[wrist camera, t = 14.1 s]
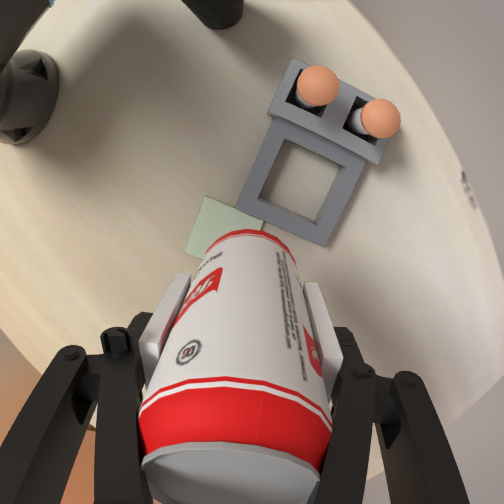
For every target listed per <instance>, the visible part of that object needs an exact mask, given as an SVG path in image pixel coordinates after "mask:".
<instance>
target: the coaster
mask: <svg viewBox="0 0 504 504" xmlns="http://www.w3.org/2000/svg"><path fill="white" fill-rule="evenodd" d="M263 222H264V220H261V219H259V218H257V217H254V216H252V215H249V214H247V213H245V212H242V211H240V210H238V209H235V208H234V207H232V206H229V205H227V204H225V203H222V202H220V201H217V200H215V199H213V198H210V197H208V196H205V198H204V201H203V203H202V206H201V208H200V211H199V214H198V216H197V219H196V221H195V224H194V227H193V229H192V232H191V235H190V237H189V240H188V243H187V245H186V248H185V251H184V252H186V253H188V254H190V255H193V256H195V257H198V258H200V259H202V260H203V258H204V255H205V253H206V251H207V249H208V248H209V247H210V246H211V245H212V244H213V243H214V242H215V241H216V240H217V239H218V238H220V237H221V236H223V235H225V234H227V233H229V232H231V231H236V230H242V229H254V230H260V229H261V227H262V224H263Z"/></svg>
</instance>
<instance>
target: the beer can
mask: <svg viewBox="0 0 504 504" xmlns="http://www.w3.org/2000/svg"><path fill="white" fill-rule="evenodd" d="M137 427H138V435H139V442H140V449H141V453H142V458H143V461H142V463H141V466H140V468H141V470H142V468H143V470H144V473H145V475H146V478H147V481H148V485H149V489H150V493H151V496H152V498H154V499H155V500H157V501H159V502H160V503H162V504H306V503H307V501H308V498H309V496H310V494H311V492H312V490H313V489H314V487H315V485H316V482H317V481H320V476H321V475H320V474H319V473H320V470H321V467H322V464H323V461H324V458H325V455H326V452H327V448H328V445H329V442H330V439H331V434H332V429H333V428H332V418H331V413H330V408H329V404H328V399H327V394H326V390H325V385H324V380H323V376H322V371H321V367H320V362H319V358H318V354H317V349H316V345H315V341H314V336H313V332H312V328H311V324H310V319H309V315H308V311H307V307H306V303H305V299H304V295H303V291H302V287H301V283H300V279H299V275H298V271H297V267H296V263H295V260H294V259H293V257H292V255H291V253H290V251H289V249H288V247H286V246H285V245H284V244H283V243H282V242H281V241H280V240H279V239H278V238H277V237H275V236H273V235H271V234H269V233H266V232H264V231H261V230H254V229H242V230H236V231H231V232H229V233H227V234H225V235H223V236H221V237H220V238H218V239H217V240H216V241H215V242H214V243H213V244H212V245H211V246H210V247H209V248H208V249H207V251H206V253H205V255H204V258H203V260H202V262H201V264H200V266H199V269H198V271H197V273H196V275H195V278H194V280H193V282H192V284H191V287H190V289H189V291H188V293H187V296H186V298H185V300H184V303H183V305H182V307H181V309H180V312H179V314H178V316H177V319H176V321H175V323H174V326H173V328H172V330H171V333H170V335H169V338H168V340H167V342H166V345H165V347H164V350H163V352H162V354H161V357H160V359H159V362H158V364H157V367H156V369H155V371H154V374H153V376H152V379H151V381H150V384H149V386H148V389H147V391H146V394H145V396H144V399H143V401H142V404H141V407H140V409H139V412H138V415H137Z"/></svg>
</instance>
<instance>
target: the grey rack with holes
mask: <svg viewBox="0 0 504 504" xmlns="http://www.w3.org/2000/svg"><path fill="white" fill-rule="evenodd" d="M308 67H311V66H310V65H308V64H305V63H303V62H301V61H298V60H296V59H294V58H292V60H291V62H290V64H289V66H288V68H287V70H286V72H285V75H284V77H283V79H282V81H281V83H280V85H279V87H278V90H277V92H276V94H275V96H274V98H273V100H272V103H271V105H270V107H269V109H268V112H267V114H268V115H271V116H273V117H275V118H274V120H273V122H272V124H271V127H270V129H269V131H268V133H267V136H266V138H265V140H264V142H263V145H262V147H261V149H260V151H259V154H258V156H257V158H256V160H255V163H254V165H253V167H252V169H251V172H250V174H249V176H248V179H247V181H246V183H245V186H244V188H243V190H242V193H241V195H240V197H239V200H238V202H237V204H236V207H235V209H238V210H240V211H242V212H245V213H247V214H249V215H252V216H254V217H257V218H259V219H261V220H264V221H266V222H268V223H271V224H273V225H275V226H277V227H280V228H282V229H284V230H287V231H289V232H291V233H294V234H296V235H298V236H300V237H303V238H305V239H307V240H310V241H312V242H314V243H316V244H319V245H321V246H323V247H325V245H326V243H327V241H328V239H329V237H330V235H331V233H332V231H333V229H334V227H335V226H336V224H337V222H338V220H339V218H340V216H341V213H342V211H343V209H344V207H345V205H346V203H347V201H348V199H349V197H350V195H351V193H352V191H353V189H354V187H355V185H356V183H357V180H358V178H359V176H360V174H361V172H362V170H363V168H364V166H365V163H366V162H368V163H372V164H376V165H378V164H379V162H380V160H381V157H382V155H383V153H384V151H385V149H386V146H387V144H388V142H389V140H390V137H388V138H376V137H373V136H371V135H369V137H368V139H367V142H366V141H365V140H363V139H361V138H359V137H357V136H355V135H354V134H352V133H350V132H348V131H346V130H344V129H342V127H343V125H344V123H345V121H346V118H347V116H348V114H349V112H350V110H351V107H352V105H353V103H355V104H357V105H359V106H361V107H364V105H365V104H366V103H368V102H370V101H372V100H375V98H373V97H371V96H369V95H368V94H366V93H364V92H362V91H360V90H358V89H357V88H355V87H353V86H351V85H349V84H347V83H345V82H343V81H341V80H339V79H338V81H339V85H340V88H339V93H338V95H337V97H336V98H335V99H334V100H333V101H332V102H330V103H328V104H326V105H323V106H322V108H321V110H320V112H319V114H318V116H316V115H314V114H312V113H309V112H307V111H305V110H303V109H301V108H298V107H296V106H294V105H292V104H290V103H287V102H285V100H286V98H287V96H288V94H289V92H290V90H291V87H292V85H293V83H294V81H295V79H296V77H297V75H298V76H300V75H301V73H302V72H303V71H304V70H305V69H307V68H308ZM399 114H400V113H399ZM284 139H286V140H288V141H291V142H293V143H295V144H297V145H299V146H302V147H304V148H306V149H308V150H310V151H312V152H314V153H316V154H319V155H321V156H323V157H325V158H327V159H329V160H331V161H333V162H335V163H337V164H339V165H341V167H340V169H339V171H338V173H337V175H336V178H335V180H334V182H333V184H332V186H331V188H330V190H329V192H328V194H327V197H326V199H325V201H324V203H323V205H322V207H321V209H320V211H319V213H318V215H317V217H316V219H315V221H312V220H310V219H308V218H306V217H304V216H301V215H299V214H297V213H295V212H292V211H290V210H288V209H286V208H283V207H281V206H279V205H276V204H274V203H272V202H270V201H267V200H265V199H263V198H260V197H258V196H259V194H260V192H261V189H262V187H263V185H264V183H265V180H266V178H267V176H268V174H269V171H270V169H271V167H272V165H273V163H274V160H275V158H276V156H277V154H278V151H279V149H280V147H281V145H282V143H283V140H284Z"/></svg>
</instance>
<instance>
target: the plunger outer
mask: <svg viewBox="0 0 504 504" xmlns="http://www.w3.org/2000/svg"><path fill="white" fill-rule="evenodd" d="M400 122H401V119H400V114H399V111H398V109H397V108H396V107H395V105H394V104H392V103H391V102H390V101H388V100H385V99H375V100H372V101H370V102H368V103H366V104H365V105H364V107H363V108H359V109H356V110H353V111H352V112H350V113H349V115H348V117H347V125H348V127H349V129H350V130H351V131H352V132H353V133H355V134H358V135H366V134H370V135H371V136H373V137H376V138H388V137H391V136H393V135H394V134H395V133H396V132H397V131H398V129H399V127H400Z"/></svg>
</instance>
